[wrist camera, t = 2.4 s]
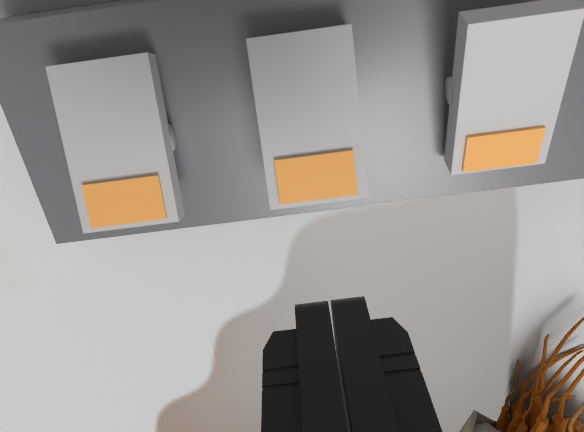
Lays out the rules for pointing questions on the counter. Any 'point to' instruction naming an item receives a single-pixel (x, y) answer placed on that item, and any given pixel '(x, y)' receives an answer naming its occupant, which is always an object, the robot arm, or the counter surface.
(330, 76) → the rocker middle
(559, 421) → the nautilus
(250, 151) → the power strip
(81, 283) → the counter surface
